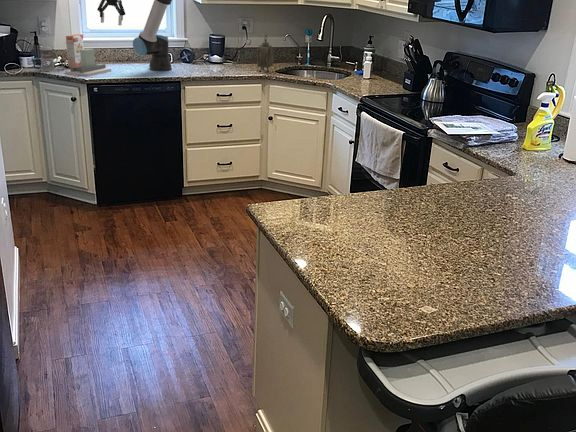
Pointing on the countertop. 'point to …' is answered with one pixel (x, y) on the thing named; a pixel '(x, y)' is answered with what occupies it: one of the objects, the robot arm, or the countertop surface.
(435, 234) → the countertop surface
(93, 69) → the grey flat block
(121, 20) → the robot arm
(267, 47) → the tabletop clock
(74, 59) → the cracker box
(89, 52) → the door panel
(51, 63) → the french press
